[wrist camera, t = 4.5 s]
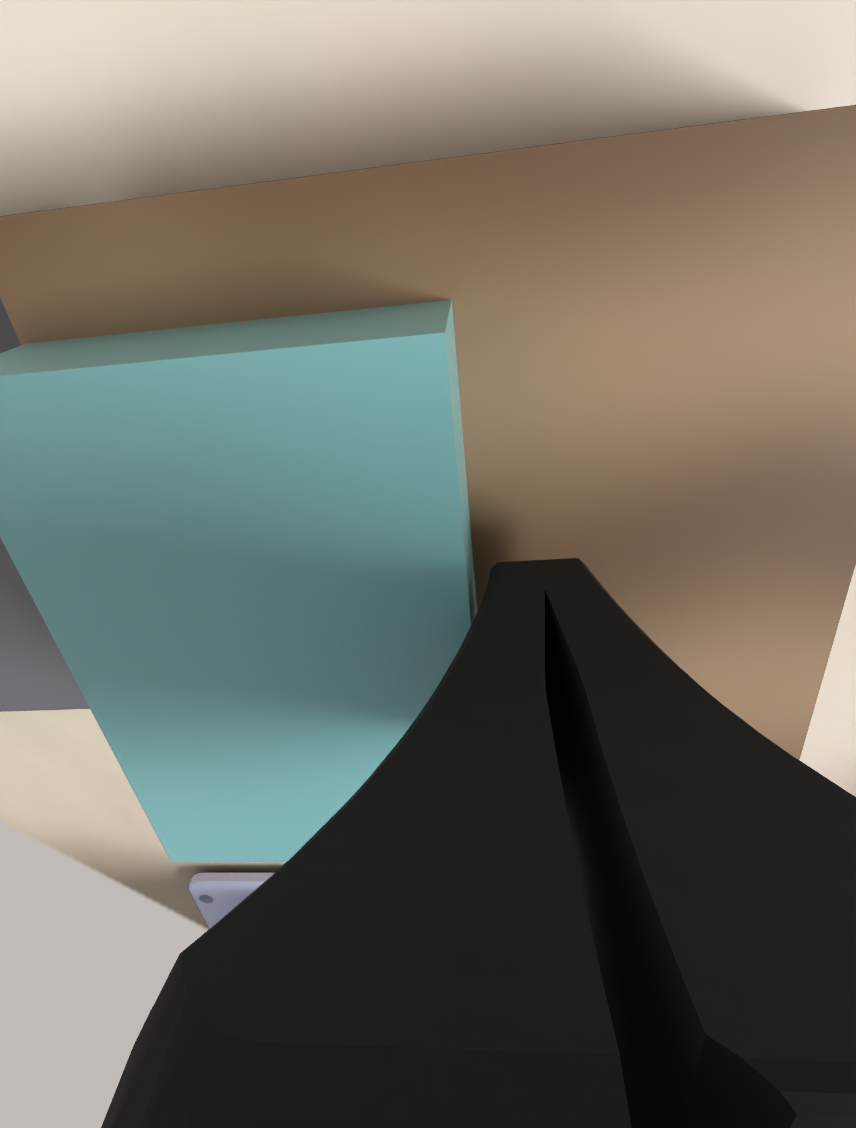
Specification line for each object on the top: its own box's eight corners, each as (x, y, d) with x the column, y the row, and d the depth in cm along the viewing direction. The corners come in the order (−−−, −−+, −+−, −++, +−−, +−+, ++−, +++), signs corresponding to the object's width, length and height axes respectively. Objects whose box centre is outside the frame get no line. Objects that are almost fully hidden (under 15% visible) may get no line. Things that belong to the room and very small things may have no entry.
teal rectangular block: (490, 770, 13) (491, 861, 11) (209, 775, 14) (170, 862, 12) (451, 298, 8) (444, 332, 6) (26, 343, 9) (-81, 383, 7)
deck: (720, 679, 16) (784, 813, 13) (273, 695, 18) (224, 819, 14) (819, 115, 10) (992, 87, 7) (118, 206, 11) (-34, 219, 8)
